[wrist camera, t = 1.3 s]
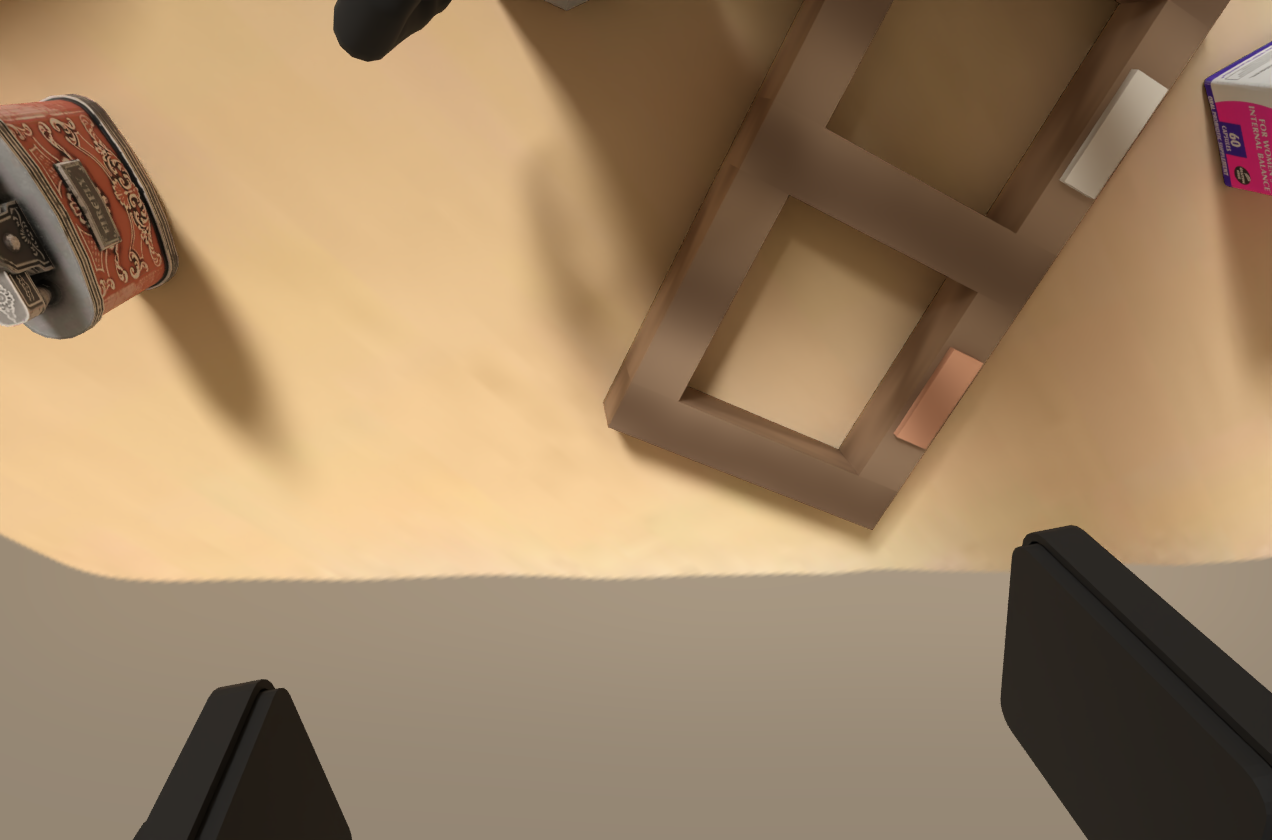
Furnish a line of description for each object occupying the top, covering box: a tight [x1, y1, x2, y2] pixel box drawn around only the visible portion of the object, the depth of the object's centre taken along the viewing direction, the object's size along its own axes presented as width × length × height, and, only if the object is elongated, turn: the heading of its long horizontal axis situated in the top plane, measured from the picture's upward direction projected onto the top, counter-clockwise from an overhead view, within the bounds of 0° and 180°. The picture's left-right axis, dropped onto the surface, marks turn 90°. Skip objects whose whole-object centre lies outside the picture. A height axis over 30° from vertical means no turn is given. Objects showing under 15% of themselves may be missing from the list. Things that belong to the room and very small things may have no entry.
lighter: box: [0, 94, 179, 339], centre depth 29 cm, size 8×3×10 cm, turn 14°
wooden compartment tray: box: [603, 0, 1230, 530], centre depth 36 cm, size 29×16×3 cm, turn 154°
